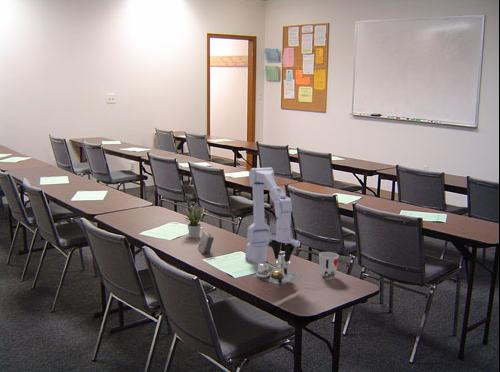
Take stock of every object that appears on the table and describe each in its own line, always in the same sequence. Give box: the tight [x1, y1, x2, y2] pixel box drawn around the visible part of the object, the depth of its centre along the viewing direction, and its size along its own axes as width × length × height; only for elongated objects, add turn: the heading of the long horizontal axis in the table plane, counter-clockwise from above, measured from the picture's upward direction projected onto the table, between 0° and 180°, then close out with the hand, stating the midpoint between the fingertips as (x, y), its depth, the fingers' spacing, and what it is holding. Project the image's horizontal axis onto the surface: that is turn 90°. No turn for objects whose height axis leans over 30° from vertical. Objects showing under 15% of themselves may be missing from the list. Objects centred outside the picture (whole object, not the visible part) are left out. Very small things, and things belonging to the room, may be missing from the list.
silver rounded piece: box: [255, 262, 270, 279], centre depth 219 cm, size 6×6×5 cm
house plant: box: [182, 206, 209, 238], centre depth 277 cm, size 14×14×16 cm
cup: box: [318, 251, 339, 280], centre depth 222 cm, size 8×8×10 cm
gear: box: [275, 251, 292, 269], centre depth 215 cm, size 6×6×5 cm
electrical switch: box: [197, 230, 215, 255], centre depth 253 cm, size 9×5×9 cm, turn 18°
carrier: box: [252, 266, 303, 286], centre depth 219 cm, size 15×15×4 cm
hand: (282, 259), depth 214 cm, fingers closed on gear, 4 cm apart
